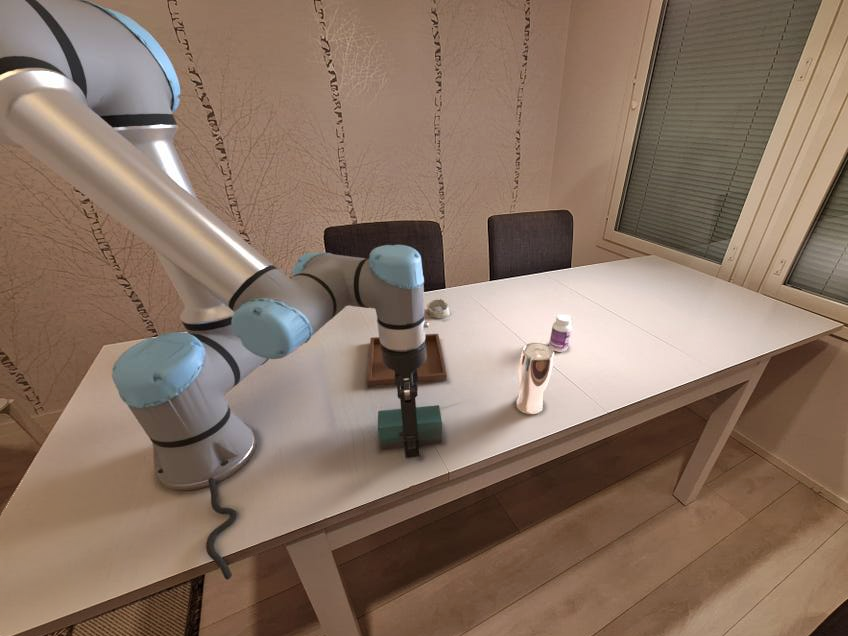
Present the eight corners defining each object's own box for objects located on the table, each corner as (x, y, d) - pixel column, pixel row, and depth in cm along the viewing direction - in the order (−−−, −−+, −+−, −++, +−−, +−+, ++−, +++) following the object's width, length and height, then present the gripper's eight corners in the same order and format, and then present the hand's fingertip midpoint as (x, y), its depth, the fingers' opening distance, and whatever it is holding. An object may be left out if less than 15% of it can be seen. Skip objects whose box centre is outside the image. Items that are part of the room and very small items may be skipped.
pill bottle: (567, 353, 104) (573, 323, 98) (548, 350, 104) (553, 320, 99) (567, 343, 108) (573, 314, 103) (549, 341, 109) (554, 312, 103)
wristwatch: (454, 317, 118) (454, 303, 115) (436, 322, 115) (436, 308, 112) (440, 306, 124) (439, 293, 121) (423, 310, 121) (422, 296, 118)
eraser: (442, 443, 74) (441, 421, 71) (380, 450, 72) (377, 428, 68) (439, 426, 78) (439, 404, 75) (381, 432, 76) (378, 410, 72)
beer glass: (536, 420, 81) (546, 364, 72) (508, 407, 84) (515, 352, 75) (549, 402, 86) (560, 348, 77) (522, 391, 89) (530, 338, 80)
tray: (446, 382, 90) (446, 374, 89) (368, 388, 87) (366, 380, 86) (438, 340, 106) (438, 333, 105) (371, 344, 103) (370, 337, 101)
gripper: (431, 380, 53) (435, 478, 66) (421, 309, 72) (425, 397, 84) (378, 384, 52) (392, 484, 65) (381, 311, 70) (392, 400, 83)
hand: (411, 435), depth 74 cm, fingers open, 10 cm apart
